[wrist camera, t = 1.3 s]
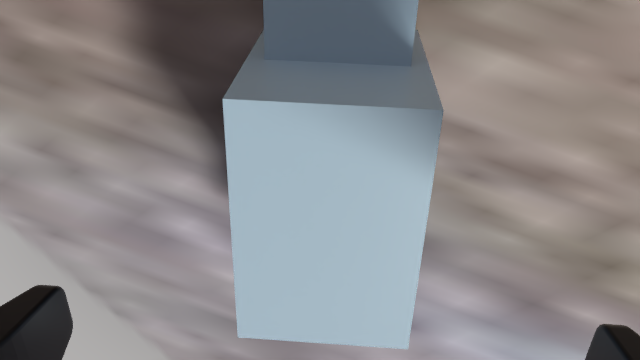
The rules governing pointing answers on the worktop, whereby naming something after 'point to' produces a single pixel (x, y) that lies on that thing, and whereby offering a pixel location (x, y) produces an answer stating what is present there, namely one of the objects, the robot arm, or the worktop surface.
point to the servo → (331, 172)
